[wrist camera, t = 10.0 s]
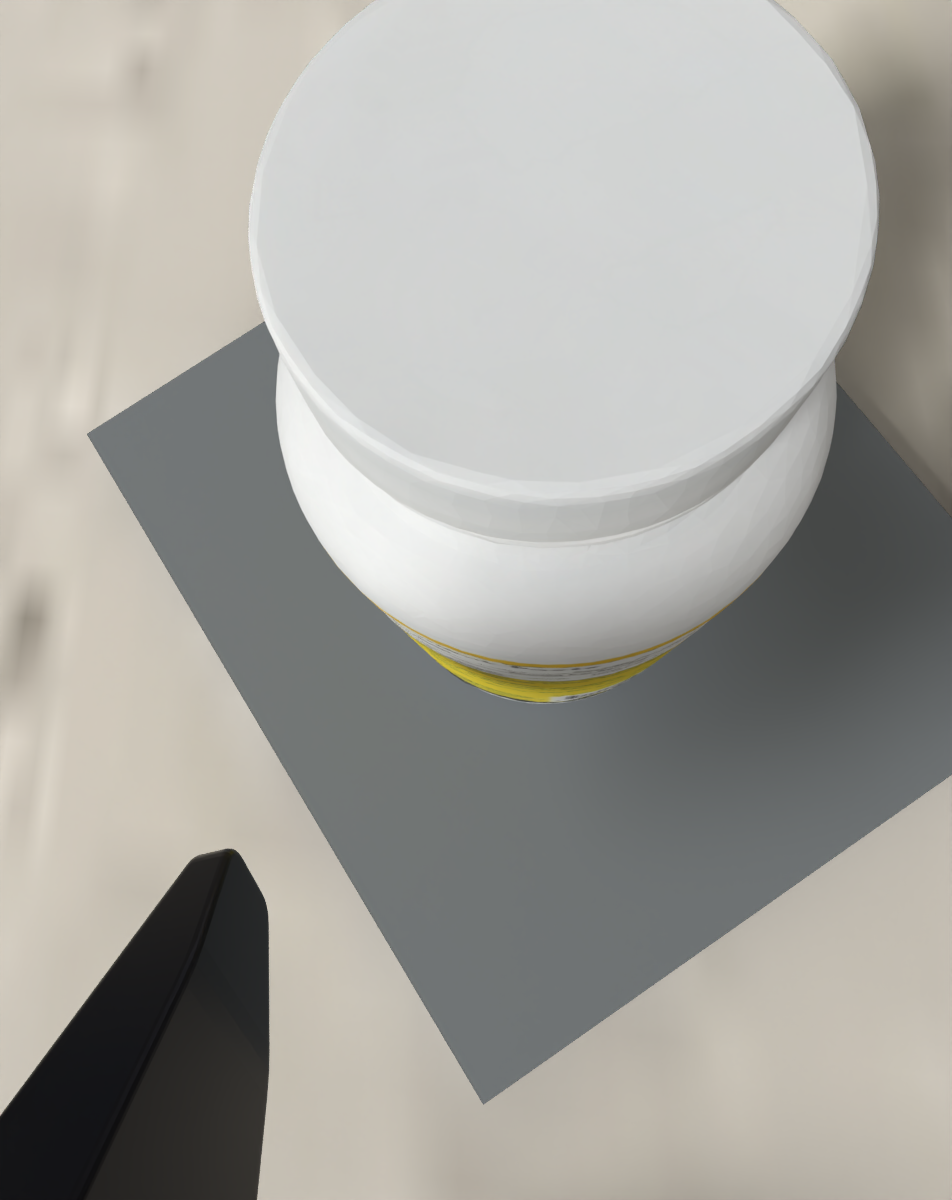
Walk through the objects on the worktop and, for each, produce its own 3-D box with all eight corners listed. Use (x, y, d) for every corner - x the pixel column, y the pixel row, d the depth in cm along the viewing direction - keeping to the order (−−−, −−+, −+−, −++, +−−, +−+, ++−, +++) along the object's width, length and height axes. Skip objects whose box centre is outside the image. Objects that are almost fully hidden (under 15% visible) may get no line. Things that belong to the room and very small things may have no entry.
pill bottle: (490, 369, 18) (423, -256, 7) (747, 504, 17) (1152, 25, 6) (337, 610, 17) (-20, 338, 6) (597, 767, 16) (743, 787, 5)
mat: (1055, 683, 16) (1088, 678, 15) (486, 1082, 16) (483, 1104, 15) (599, 139, 20) (603, 107, 19) (110, 450, 19) (86, 433, 18)
